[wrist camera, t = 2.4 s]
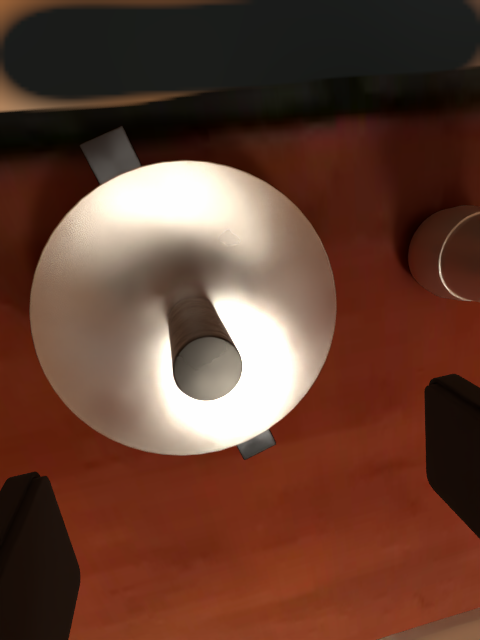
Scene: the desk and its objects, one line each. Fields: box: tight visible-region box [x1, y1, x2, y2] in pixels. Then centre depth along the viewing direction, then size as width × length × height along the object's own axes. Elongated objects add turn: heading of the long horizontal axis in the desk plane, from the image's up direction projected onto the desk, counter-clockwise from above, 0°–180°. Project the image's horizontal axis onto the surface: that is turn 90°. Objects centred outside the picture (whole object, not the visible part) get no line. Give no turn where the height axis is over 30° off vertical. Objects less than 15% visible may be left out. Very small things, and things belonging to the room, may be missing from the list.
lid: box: [29, 160, 336, 455], centre depth 21 cm, size 17×17×8 cm
